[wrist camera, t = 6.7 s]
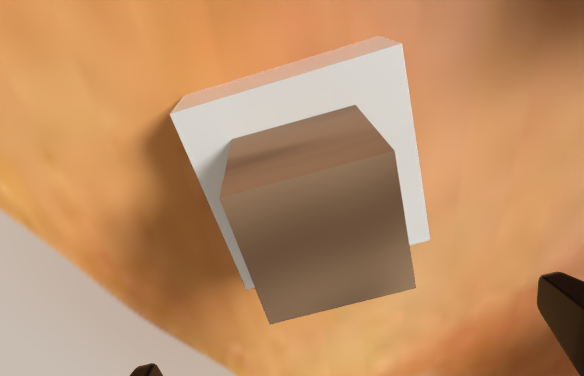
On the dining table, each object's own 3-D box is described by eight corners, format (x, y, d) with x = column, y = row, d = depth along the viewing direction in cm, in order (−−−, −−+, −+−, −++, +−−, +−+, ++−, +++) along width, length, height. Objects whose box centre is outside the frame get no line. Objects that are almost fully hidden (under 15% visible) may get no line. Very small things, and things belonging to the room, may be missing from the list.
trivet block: (405, 204, 21) (430, 239, 18) (248, 247, 22) (246, 289, 19) (376, 34, 17) (402, 43, 14) (185, 93, 18) (169, 113, 15)
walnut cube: (376, 212, 17) (415, 288, 13) (268, 240, 18) (269, 324, 13) (355, 104, 15) (394, 150, 11) (231, 139, 15) (219, 198, 11)
